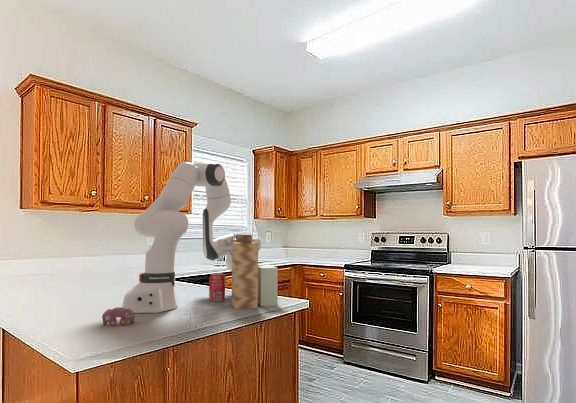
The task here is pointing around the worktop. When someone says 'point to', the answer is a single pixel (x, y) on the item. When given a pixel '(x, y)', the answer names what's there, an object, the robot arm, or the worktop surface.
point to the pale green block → (267, 285)
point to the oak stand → (245, 275)
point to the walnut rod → (243, 238)
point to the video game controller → (118, 312)
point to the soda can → (217, 287)
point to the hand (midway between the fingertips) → (240, 237)
